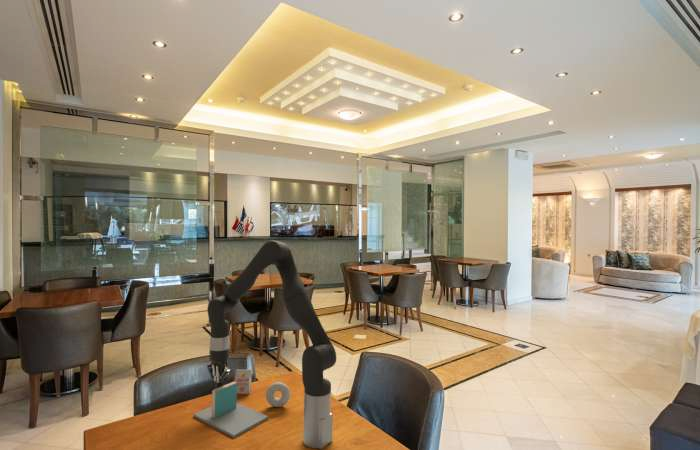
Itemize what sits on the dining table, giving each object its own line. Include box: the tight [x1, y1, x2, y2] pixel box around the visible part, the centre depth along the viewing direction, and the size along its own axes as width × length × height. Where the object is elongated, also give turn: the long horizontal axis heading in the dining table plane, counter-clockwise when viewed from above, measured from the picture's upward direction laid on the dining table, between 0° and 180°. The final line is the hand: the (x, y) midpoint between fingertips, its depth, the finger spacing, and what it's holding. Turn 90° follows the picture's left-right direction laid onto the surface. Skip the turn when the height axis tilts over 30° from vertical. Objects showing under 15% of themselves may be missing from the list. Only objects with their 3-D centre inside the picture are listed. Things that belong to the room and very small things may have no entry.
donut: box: [265, 381, 291, 408], centre depth 150 cm, size 10×4×10 cm, turn 91°
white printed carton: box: [233, 369, 252, 395], centre depth 162 cm, size 4×7×10 cm, turn 92°
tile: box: [211, 381, 238, 418], centre depth 143 cm, size 2×10×10 cm, turn 146°
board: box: [193, 402, 269, 439], centre depth 140 cm, size 24×16×1 cm, turn 56°
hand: (218, 390), depth 145 cm, fingers closed
